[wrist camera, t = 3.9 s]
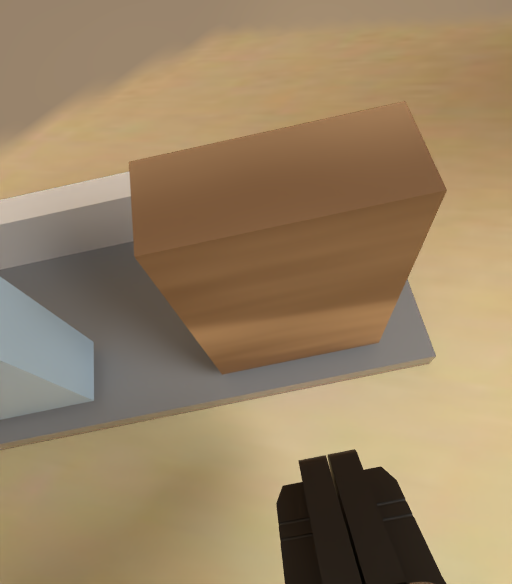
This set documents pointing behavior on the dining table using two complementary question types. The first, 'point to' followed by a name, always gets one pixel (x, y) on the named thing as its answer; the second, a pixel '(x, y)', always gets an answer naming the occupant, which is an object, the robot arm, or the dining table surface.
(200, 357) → the base
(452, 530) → the dining table surface
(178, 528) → the dining table surface
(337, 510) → the robot arm
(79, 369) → the light blue block
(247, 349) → the brown wooden block
